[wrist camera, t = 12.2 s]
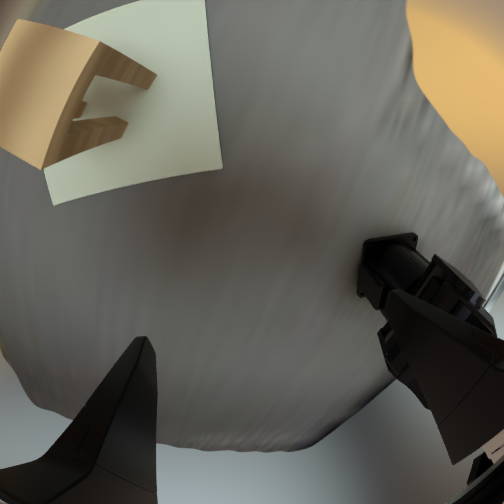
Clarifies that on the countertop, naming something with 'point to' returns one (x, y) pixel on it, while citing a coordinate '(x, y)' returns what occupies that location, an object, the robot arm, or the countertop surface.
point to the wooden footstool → (57, 92)
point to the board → (147, 101)
